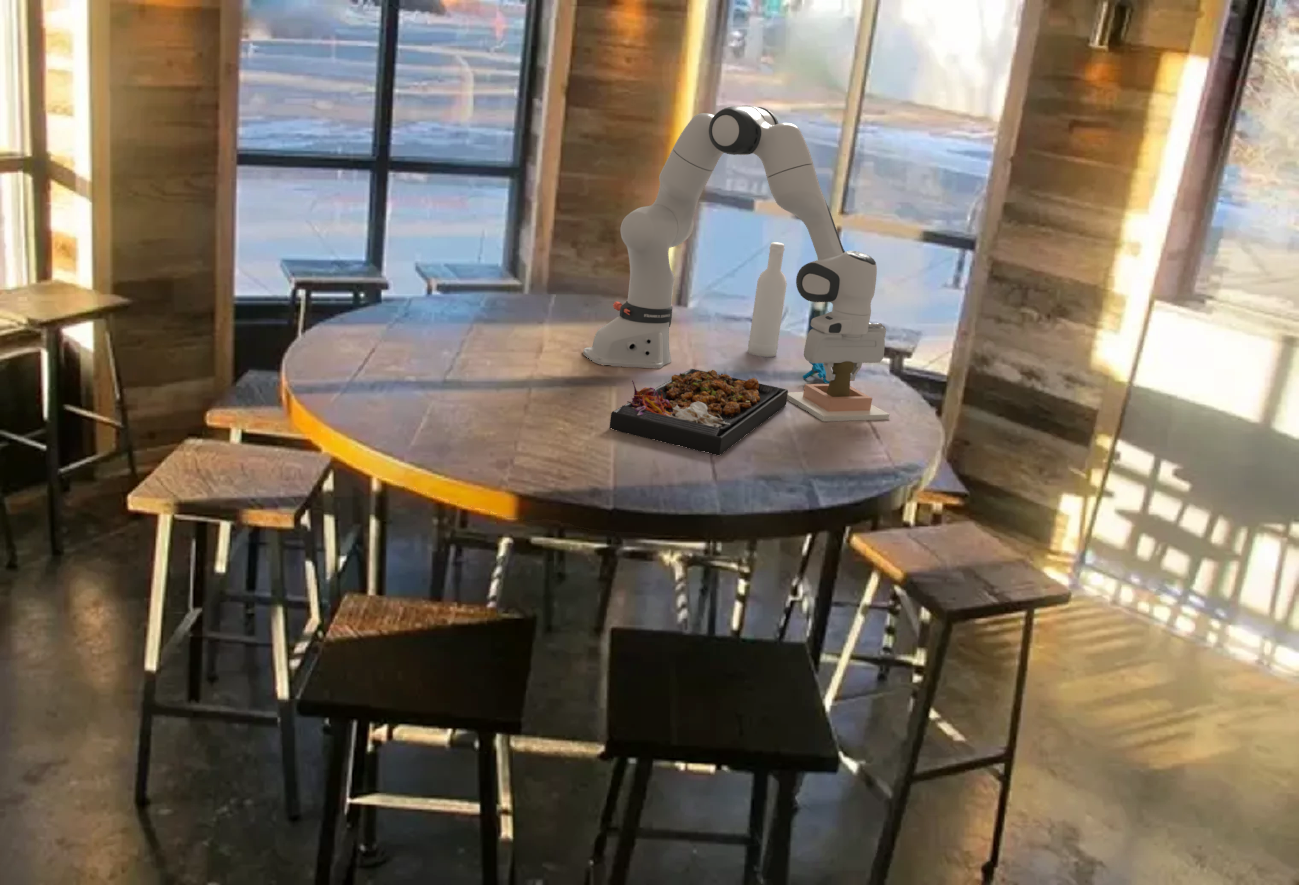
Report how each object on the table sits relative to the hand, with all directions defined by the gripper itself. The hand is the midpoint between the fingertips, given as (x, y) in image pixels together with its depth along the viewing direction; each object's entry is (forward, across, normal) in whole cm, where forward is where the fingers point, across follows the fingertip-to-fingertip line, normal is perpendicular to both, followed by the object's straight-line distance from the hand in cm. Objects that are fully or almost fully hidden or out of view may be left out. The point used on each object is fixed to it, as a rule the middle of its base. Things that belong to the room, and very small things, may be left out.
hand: (839, 380), depth 287 cm
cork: (+6, 0, 0) cm, 6 cm away
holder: (+7, 0, 0) cm, 7 cm away
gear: (+7, -8, -22) cm, 24 cm away
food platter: (+8, +37, +3) cm, 38 cm away
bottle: (+7, -6, -47) cm, 48 cm away
